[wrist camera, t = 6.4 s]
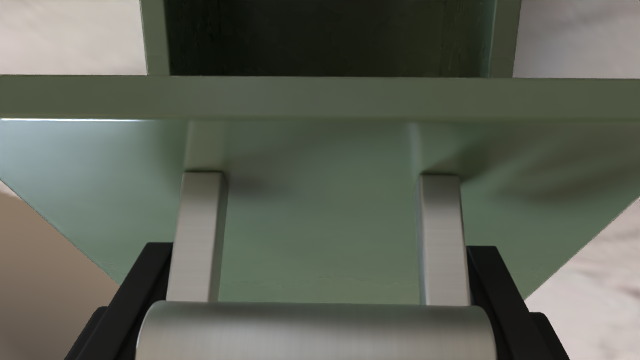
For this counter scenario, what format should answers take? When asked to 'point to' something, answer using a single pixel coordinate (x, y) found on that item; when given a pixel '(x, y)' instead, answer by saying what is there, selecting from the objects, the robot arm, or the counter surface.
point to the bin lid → (322, 199)
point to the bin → (331, 38)
